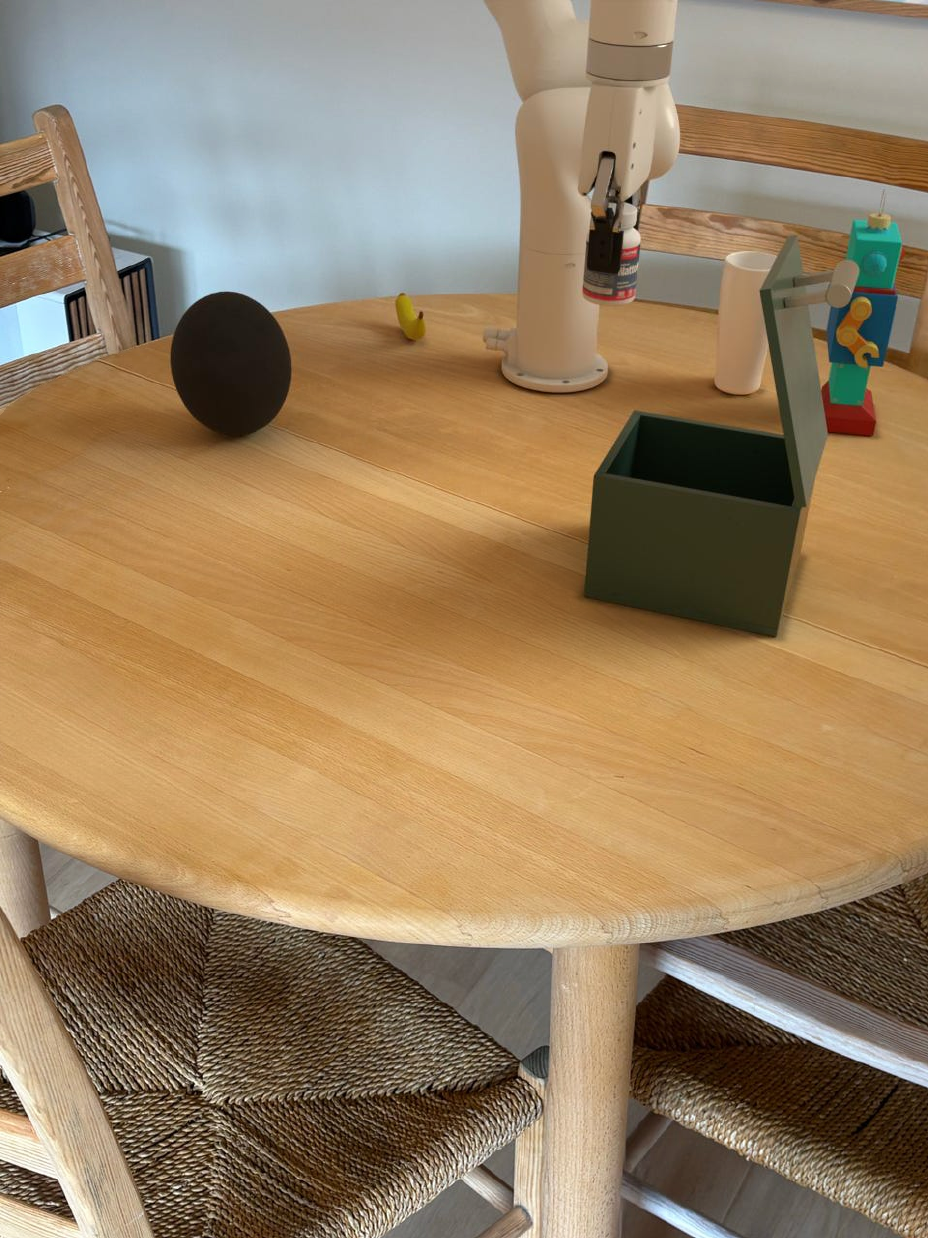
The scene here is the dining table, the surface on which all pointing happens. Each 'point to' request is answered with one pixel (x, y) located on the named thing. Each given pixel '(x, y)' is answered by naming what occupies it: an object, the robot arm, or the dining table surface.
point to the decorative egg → (230, 363)
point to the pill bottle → (623, 284)
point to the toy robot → (862, 325)
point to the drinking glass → (742, 323)
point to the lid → (800, 356)
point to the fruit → (409, 318)
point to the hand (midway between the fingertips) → (611, 259)
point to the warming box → (695, 523)
